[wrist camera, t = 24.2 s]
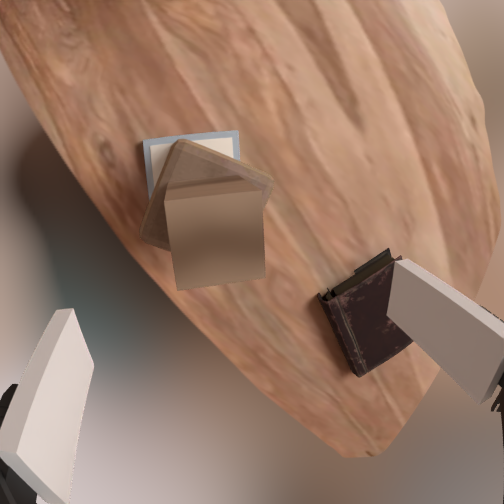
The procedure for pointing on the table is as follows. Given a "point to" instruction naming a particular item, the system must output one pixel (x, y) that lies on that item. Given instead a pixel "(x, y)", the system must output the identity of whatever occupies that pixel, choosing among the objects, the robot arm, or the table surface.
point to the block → (190, 168)
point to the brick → (215, 231)
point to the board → (216, 141)
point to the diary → (366, 315)
